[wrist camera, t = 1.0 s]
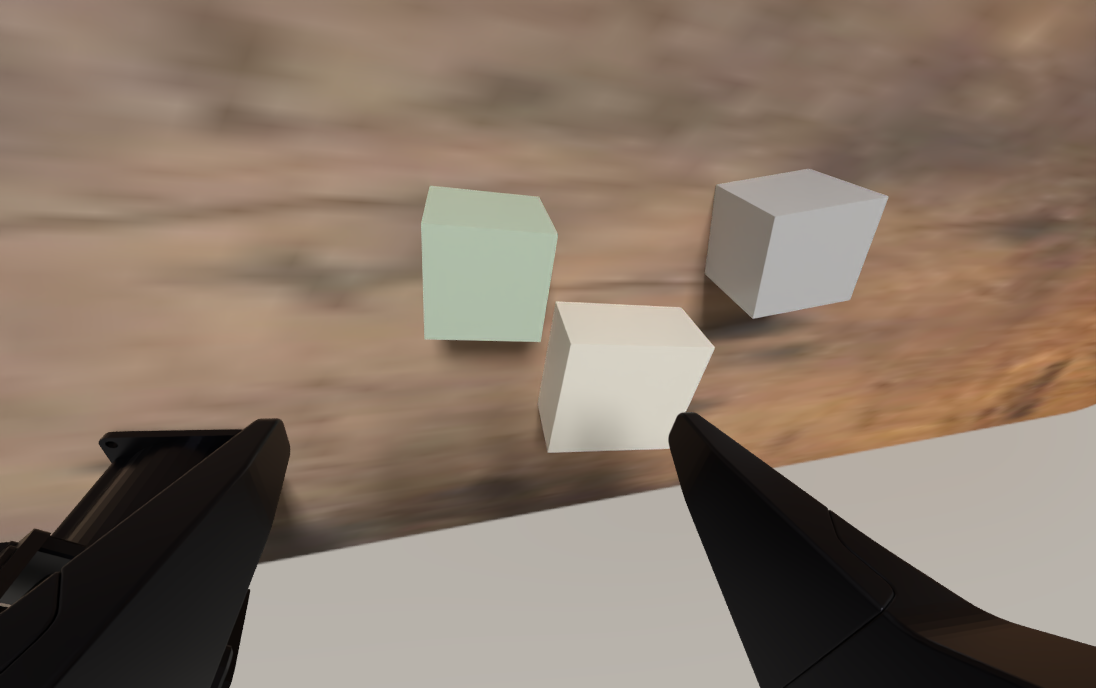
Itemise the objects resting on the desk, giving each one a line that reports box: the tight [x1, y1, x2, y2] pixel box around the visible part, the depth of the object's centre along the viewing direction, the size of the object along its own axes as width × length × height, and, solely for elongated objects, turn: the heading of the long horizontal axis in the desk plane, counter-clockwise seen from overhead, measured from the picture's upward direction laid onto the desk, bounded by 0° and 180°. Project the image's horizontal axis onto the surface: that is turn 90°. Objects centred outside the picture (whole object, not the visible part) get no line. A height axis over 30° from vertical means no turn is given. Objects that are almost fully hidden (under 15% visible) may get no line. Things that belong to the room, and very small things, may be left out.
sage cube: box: [421, 186, 558, 342], centre depth 17 cm, size 4×4×4 cm
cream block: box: [538, 302, 715, 453], centre depth 22 cm, size 7×7×4 cm
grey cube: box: [705, 169, 889, 319], centre depth 18 cm, size 4×4×4 cm
